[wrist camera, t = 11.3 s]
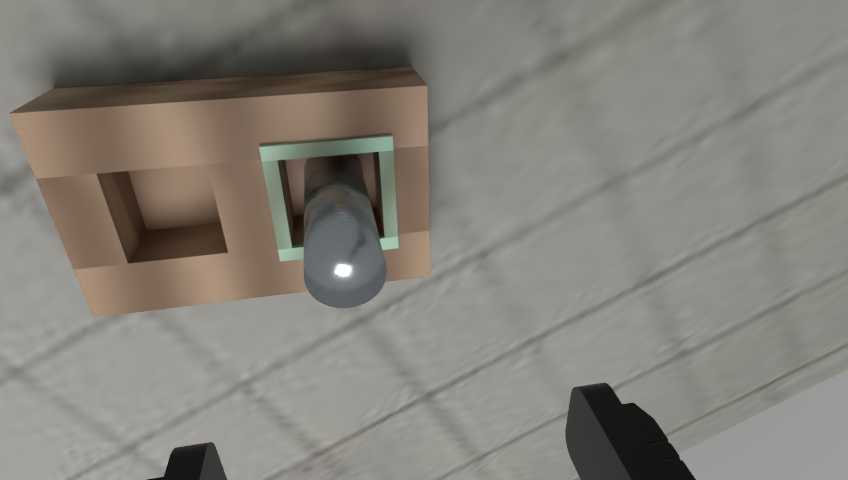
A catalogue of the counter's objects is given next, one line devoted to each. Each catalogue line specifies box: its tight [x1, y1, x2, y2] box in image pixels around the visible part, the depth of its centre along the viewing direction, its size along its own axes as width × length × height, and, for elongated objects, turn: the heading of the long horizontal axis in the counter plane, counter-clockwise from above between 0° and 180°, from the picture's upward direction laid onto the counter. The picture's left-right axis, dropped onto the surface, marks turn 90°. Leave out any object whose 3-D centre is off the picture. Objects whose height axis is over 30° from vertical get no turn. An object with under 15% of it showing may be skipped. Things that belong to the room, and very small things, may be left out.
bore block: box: [9, 66, 431, 317], centre depth 31 cm, size 20×12×5 cm, turn 92°
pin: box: [304, 154, 387, 308], centre depth 28 cm, size 4×4×12 cm
